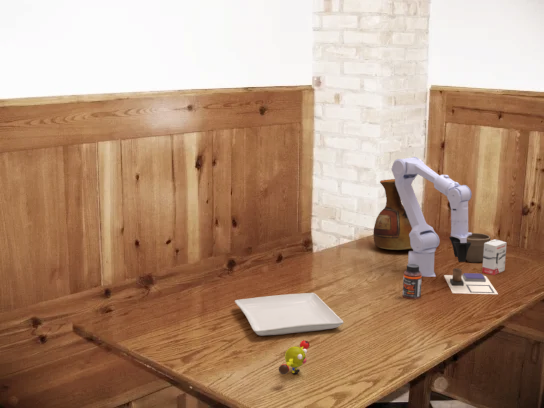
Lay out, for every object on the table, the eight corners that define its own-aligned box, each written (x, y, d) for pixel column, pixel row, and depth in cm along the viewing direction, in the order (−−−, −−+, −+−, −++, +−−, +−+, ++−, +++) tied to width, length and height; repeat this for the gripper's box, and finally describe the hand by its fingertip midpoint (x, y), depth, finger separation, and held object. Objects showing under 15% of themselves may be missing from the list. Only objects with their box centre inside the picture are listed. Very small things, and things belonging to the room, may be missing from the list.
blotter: (452, 294, 229) (452, 292, 229) (443, 276, 249) (443, 274, 248) (498, 295, 228) (498, 293, 227) (485, 277, 247) (485, 275, 247)
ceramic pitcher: (393, 240, 300) (395, 173, 294) (430, 249, 285) (433, 179, 279) (363, 248, 287) (364, 178, 281) (400, 258, 272) (402, 184, 266)
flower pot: (453, 258, 272) (454, 233, 270) (478, 255, 276) (479, 231, 274) (469, 265, 261) (471, 240, 259) (495, 263, 265) (496, 238, 263)
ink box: (493, 276, 248) (495, 245, 246) (481, 274, 251) (483, 243, 249) (505, 271, 254) (507, 241, 251) (493, 269, 257) (494, 238, 255)
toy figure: (293, 389, 163) (293, 363, 162) (272, 385, 165) (272, 359, 164) (317, 359, 180) (317, 335, 178) (297, 356, 182) (297, 332, 180)
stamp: (451, 285, 237) (452, 271, 236) (450, 281, 241) (450, 267, 239) (463, 285, 236) (464, 271, 235) (461, 282, 240) (462, 268, 239)
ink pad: (465, 281, 241) (465, 277, 241) (462, 276, 247) (462, 272, 247) (485, 281, 240) (485, 278, 240) (482, 276, 246) (482, 273, 246)
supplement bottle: (400, 299, 225) (401, 266, 223) (405, 293, 230) (406, 261, 228) (417, 301, 223) (419, 268, 220) (422, 296, 228) (424, 263, 225)
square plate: (254, 343, 192) (254, 330, 191) (234, 310, 217) (233, 298, 217) (344, 332, 199) (344, 320, 198) (314, 301, 224) (314, 290, 224)
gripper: (475, 224, 227) (475, 263, 229) (467, 216, 241) (467, 254, 243) (454, 224, 228) (454, 264, 230) (447, 217, 242) (447, 254, 244)
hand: (459, 259), depth 237 cm, fingers open, 7 cm apart
